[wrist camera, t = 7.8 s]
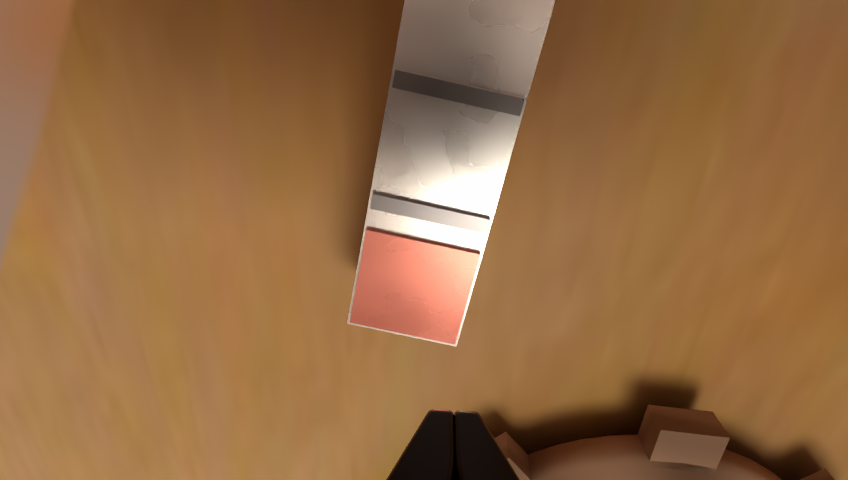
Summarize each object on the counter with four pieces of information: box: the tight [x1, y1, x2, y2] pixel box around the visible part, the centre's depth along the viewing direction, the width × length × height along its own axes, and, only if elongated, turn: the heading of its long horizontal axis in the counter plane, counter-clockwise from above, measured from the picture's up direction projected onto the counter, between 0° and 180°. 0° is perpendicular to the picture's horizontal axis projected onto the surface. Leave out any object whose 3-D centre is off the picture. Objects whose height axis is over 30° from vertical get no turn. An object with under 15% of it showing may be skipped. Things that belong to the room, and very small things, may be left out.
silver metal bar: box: [347, 0, 555, 346], centre depth 17 cm, size 4×16×4 cm, turn 168°
